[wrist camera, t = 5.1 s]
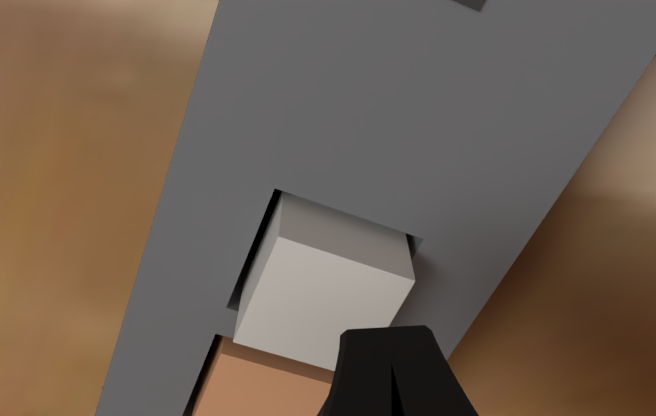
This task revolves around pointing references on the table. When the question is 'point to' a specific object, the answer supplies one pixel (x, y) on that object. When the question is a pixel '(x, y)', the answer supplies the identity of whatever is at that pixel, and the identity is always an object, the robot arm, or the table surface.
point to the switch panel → (370, 155)
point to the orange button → (258, 383)
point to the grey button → (320, 281)
